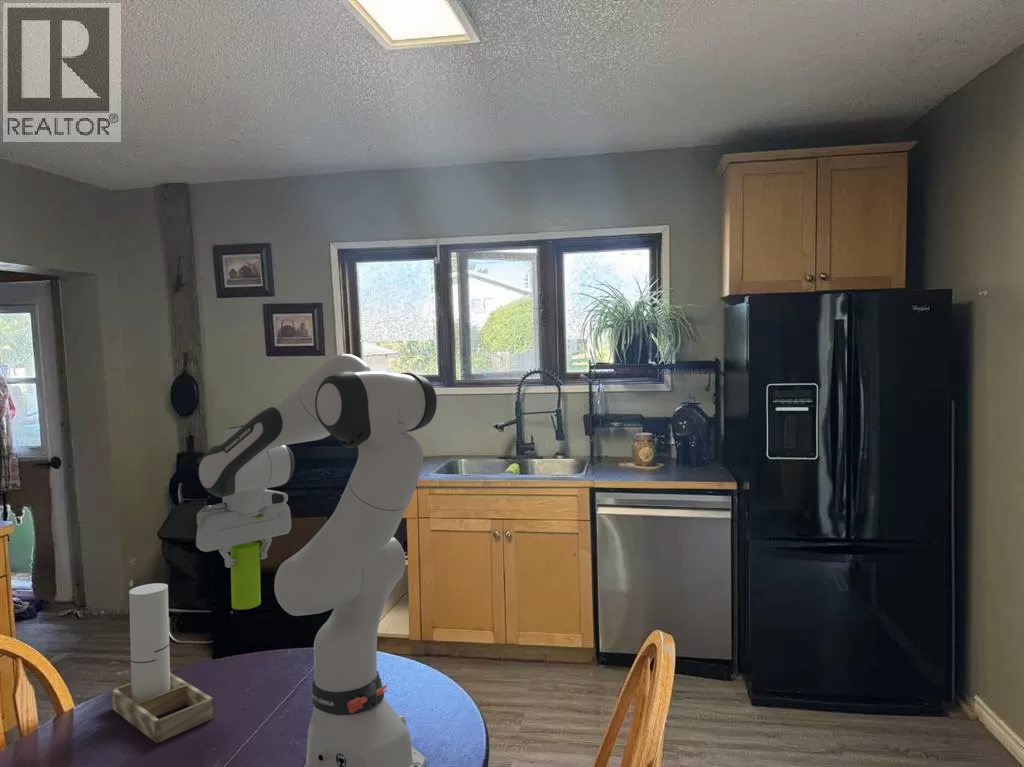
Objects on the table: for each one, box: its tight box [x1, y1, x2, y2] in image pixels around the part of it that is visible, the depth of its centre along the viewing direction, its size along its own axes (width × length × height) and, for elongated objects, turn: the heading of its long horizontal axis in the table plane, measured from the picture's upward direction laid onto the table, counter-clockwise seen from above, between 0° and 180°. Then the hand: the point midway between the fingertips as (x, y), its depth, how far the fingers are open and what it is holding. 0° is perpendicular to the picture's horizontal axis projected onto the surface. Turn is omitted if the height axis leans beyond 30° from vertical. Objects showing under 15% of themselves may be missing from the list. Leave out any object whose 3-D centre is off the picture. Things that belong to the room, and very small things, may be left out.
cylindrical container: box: [128, 582, 171, 703], centre depth 135 cm, size 7×7×25 cm
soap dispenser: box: [229, 514, 264, 611], centre depth 139 cm, size 6×7×20 cm
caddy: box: [110, 672, 215, 744], centre depth 132 cm, size 21×11×4 cm, turn 52°
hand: (246, 562), depth 139 cm, fingers closed on soap dispenser, 6 cm apart
